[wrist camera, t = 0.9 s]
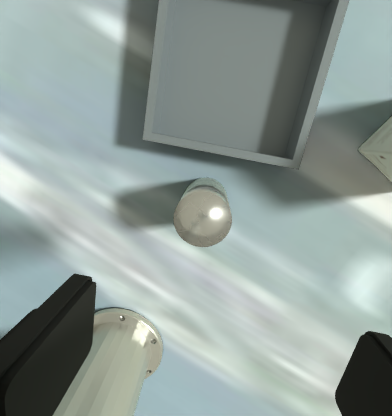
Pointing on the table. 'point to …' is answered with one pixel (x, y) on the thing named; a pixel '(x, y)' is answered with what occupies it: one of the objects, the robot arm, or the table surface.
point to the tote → (240, 75)
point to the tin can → (203, 213)
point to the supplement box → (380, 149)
